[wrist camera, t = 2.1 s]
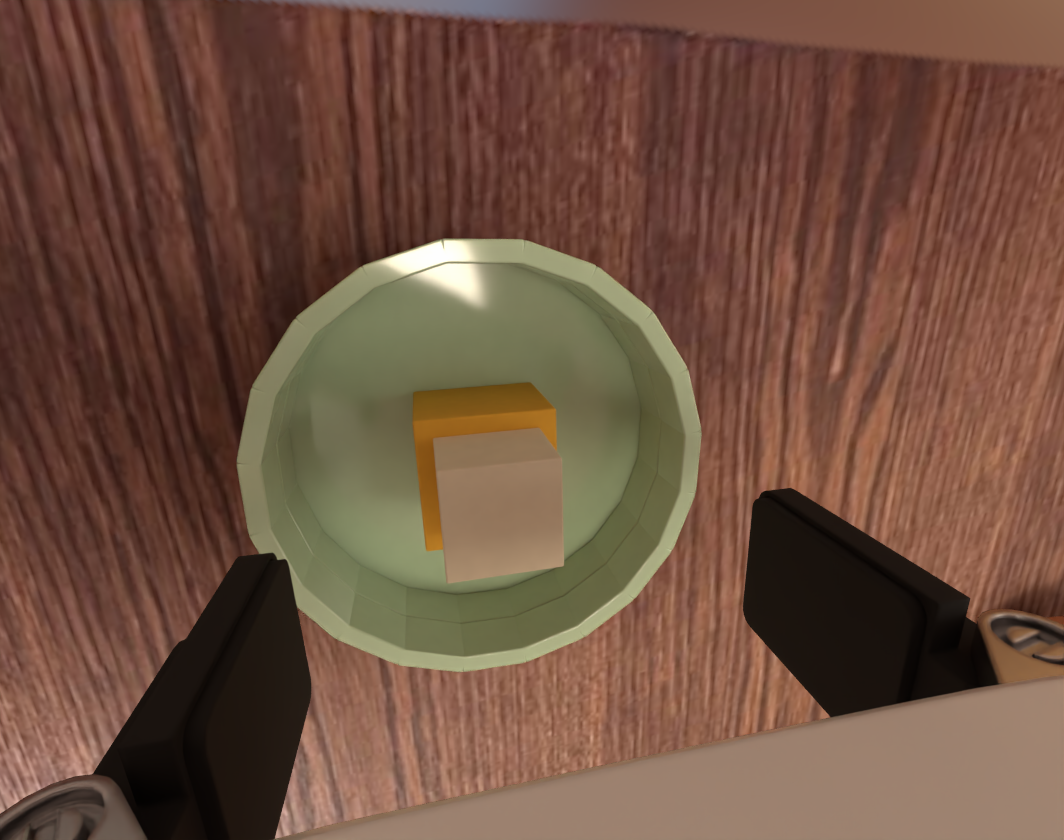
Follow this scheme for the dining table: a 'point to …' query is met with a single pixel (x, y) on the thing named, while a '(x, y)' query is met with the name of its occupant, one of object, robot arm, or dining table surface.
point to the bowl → (390, 459)
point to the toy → (489, 479)
